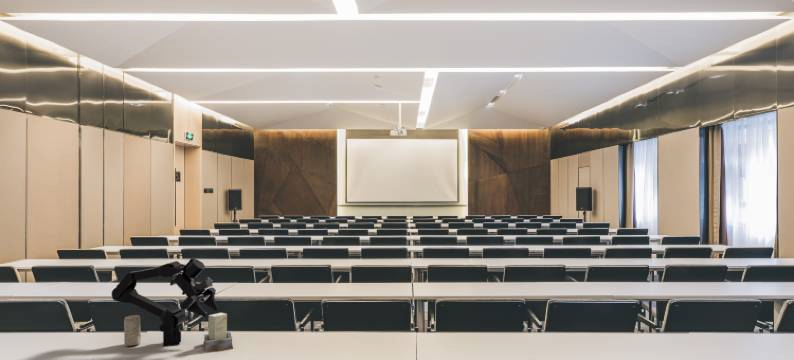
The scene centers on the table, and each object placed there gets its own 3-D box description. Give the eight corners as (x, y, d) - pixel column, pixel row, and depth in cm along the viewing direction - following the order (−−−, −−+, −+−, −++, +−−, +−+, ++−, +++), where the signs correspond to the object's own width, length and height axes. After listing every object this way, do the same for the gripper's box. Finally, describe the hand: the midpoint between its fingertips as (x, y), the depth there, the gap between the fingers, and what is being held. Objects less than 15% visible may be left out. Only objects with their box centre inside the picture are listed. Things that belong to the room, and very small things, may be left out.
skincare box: (214, 346, 211) (214, 317, 211) (207, 344, 213) (207, 315, 213) (227, 342, 216) (227, 313, 216) (220, 340, 218) (220, 312, 218)
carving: (139, 341, 221) (139, 313, 221) (142, 346, 214) (142, 317, 214) (123, 343, 217) (123, 315, 217) (125, 348, 211) (124, 319, 211)
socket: (204, 352, 207) (204, 342, 207) (203, 343, 217) (203, 334, 217) (232, 348, 211) (232, 338, 211) (230, 340, 221) (230, 331, 221)
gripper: (187, 276, 206) (213, 305, 205) (211, 268, 225) (235, 294, 223) (169, 295, 208) (194, 324, 206) (195, 286, 226) (218, 312, 224)
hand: (212, 313), depth 215 cm, fingers open, 9 cm apart
